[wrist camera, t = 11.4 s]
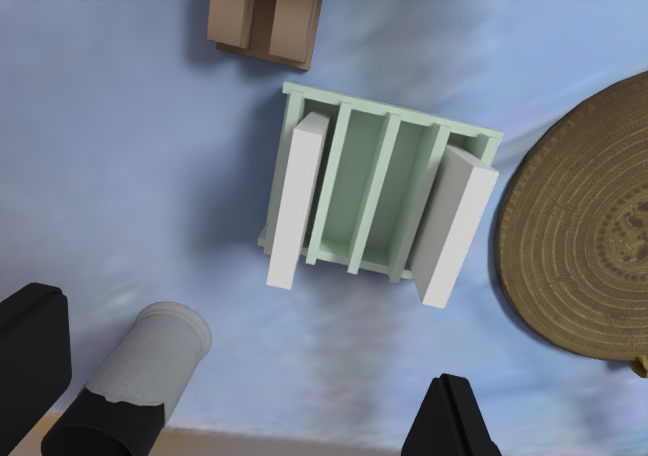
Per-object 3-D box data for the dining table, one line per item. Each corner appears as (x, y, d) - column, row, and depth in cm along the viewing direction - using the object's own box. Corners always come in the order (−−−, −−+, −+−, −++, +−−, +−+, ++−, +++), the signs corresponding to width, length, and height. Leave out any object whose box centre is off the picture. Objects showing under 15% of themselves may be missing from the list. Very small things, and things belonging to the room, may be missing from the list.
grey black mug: (218, 314, 41) (152, 436, 27) (196, 406, 47) (132, 546, 33) (139, 292, 41) (32, 404, 27) (127, 387, 46) (31, 521, 32)
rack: (291, 80, 32) (264, 83, 22) (486, 126, 32) (550, 149, 22) (266, 228, 37) (235, 286, 27) (434, 265, 37) (466, 337, 27)
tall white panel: (313, 109, 32) (293, 128, 20) (331, 114, 32) (322, 135, 20) (292, 218, 35) (266, 284, 24) (308, 222, 35) (290, 289, 24)
